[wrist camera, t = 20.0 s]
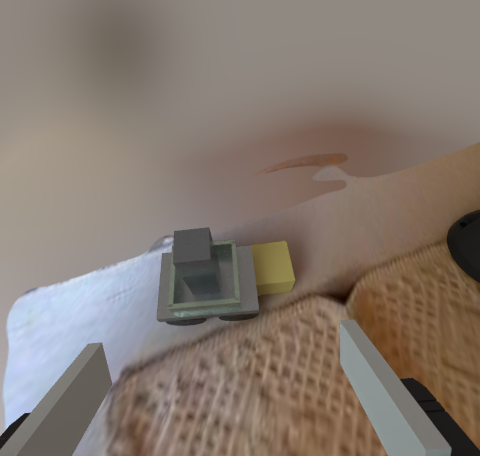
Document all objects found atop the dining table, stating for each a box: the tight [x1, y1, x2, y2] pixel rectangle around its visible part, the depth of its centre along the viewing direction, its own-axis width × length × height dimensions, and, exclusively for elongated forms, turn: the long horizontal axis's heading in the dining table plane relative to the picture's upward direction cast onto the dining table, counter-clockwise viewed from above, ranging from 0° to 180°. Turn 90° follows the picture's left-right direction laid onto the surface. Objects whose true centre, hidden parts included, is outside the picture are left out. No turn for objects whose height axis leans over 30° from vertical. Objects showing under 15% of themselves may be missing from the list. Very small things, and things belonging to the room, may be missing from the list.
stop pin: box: [173, 228, 221, 295], centre depth 33 cm, size 4×4×11 cm
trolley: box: [157, 240, 259, 326], centre depth 40 cm, size 14×10×11 cm
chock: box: [252, 241, 295, 296], centre depth 44 cm, size 6×7×6 cm
